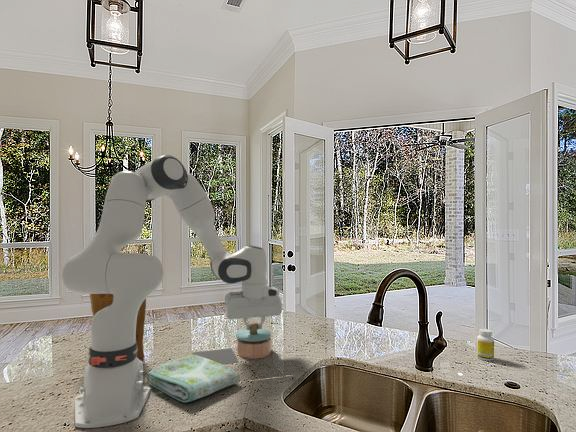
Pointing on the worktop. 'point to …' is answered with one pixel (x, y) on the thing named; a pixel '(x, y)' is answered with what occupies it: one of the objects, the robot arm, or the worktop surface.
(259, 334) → the lid
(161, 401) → the worktop surface
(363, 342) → the worktop surface
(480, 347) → the supplement bottle
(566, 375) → the worktop surface
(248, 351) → the bowl
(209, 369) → the towel
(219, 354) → the mat
